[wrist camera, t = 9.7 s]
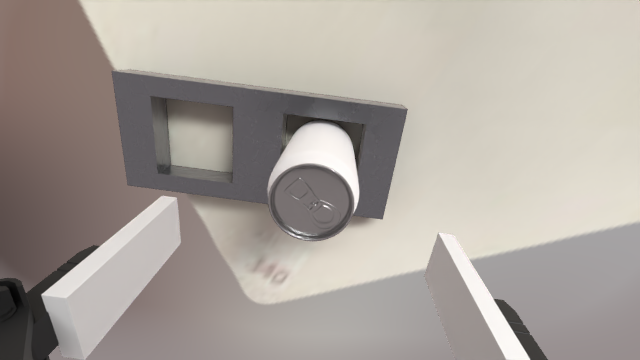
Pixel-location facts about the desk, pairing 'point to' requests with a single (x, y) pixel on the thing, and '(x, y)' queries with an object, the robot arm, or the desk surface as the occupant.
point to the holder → (247, 136)
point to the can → (315, 183)
